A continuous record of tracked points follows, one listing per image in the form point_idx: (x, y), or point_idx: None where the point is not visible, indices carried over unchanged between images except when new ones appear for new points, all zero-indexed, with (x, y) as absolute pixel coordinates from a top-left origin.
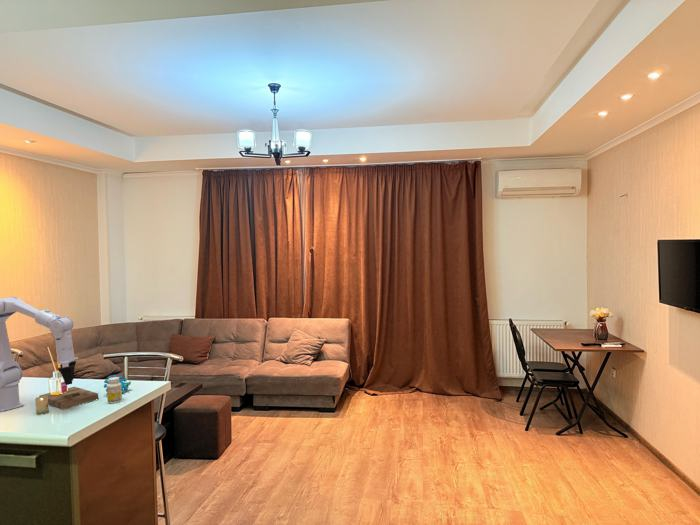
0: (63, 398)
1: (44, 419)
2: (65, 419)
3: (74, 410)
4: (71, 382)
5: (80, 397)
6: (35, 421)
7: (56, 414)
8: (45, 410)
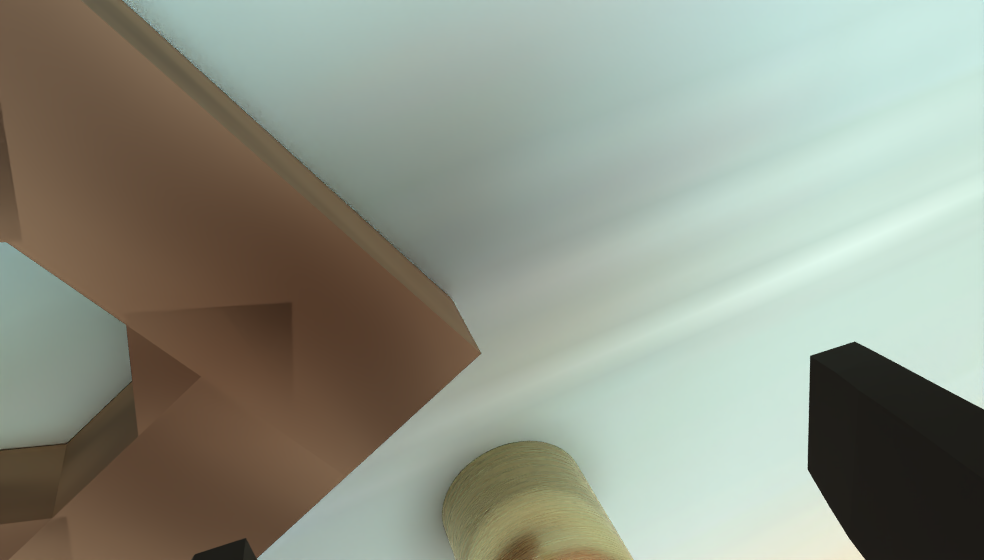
0: (153, 470)
1: (798, 351)
2: (945, 67)
3: (566, 87)
4: (892, 369)
5: (156, 159)
6: None
7: (656, 291)
8: (575, 478)
